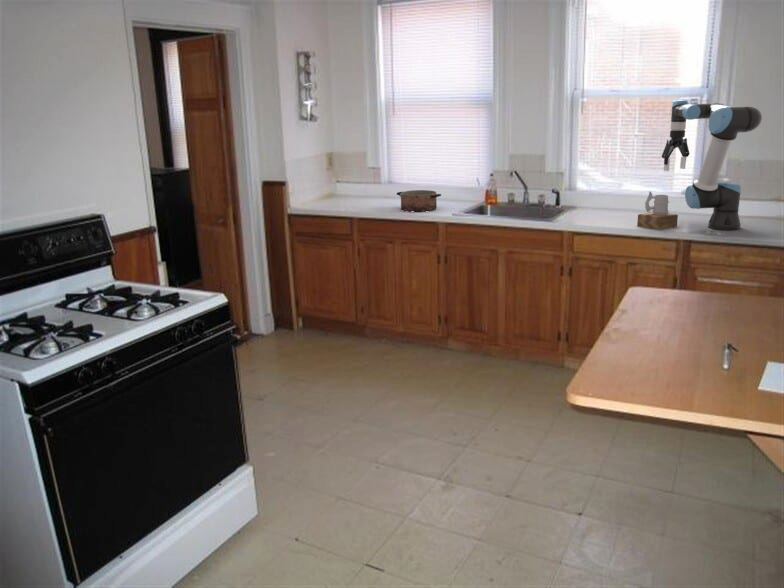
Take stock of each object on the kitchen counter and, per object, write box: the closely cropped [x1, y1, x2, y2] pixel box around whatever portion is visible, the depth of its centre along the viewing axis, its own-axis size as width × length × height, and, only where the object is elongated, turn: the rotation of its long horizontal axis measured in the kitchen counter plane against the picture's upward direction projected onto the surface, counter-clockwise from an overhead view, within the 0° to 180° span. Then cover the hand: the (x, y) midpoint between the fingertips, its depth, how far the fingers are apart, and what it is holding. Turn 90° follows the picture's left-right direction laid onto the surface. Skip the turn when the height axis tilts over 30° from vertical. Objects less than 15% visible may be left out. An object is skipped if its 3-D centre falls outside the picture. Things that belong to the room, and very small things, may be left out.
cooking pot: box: [396, 189, 442, 213], centre depth 445 cm, size 30×22×11 cm
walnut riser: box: [637, 211, 679, 230], centre depth 373 cm, size 14×14×6 cm
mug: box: [644, 191, 670, 215], centre depth 370 cm, size 8×12×12 cm, turn 80°
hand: (674, 169), depth 386 cm, fingers open, 13 cm apart
